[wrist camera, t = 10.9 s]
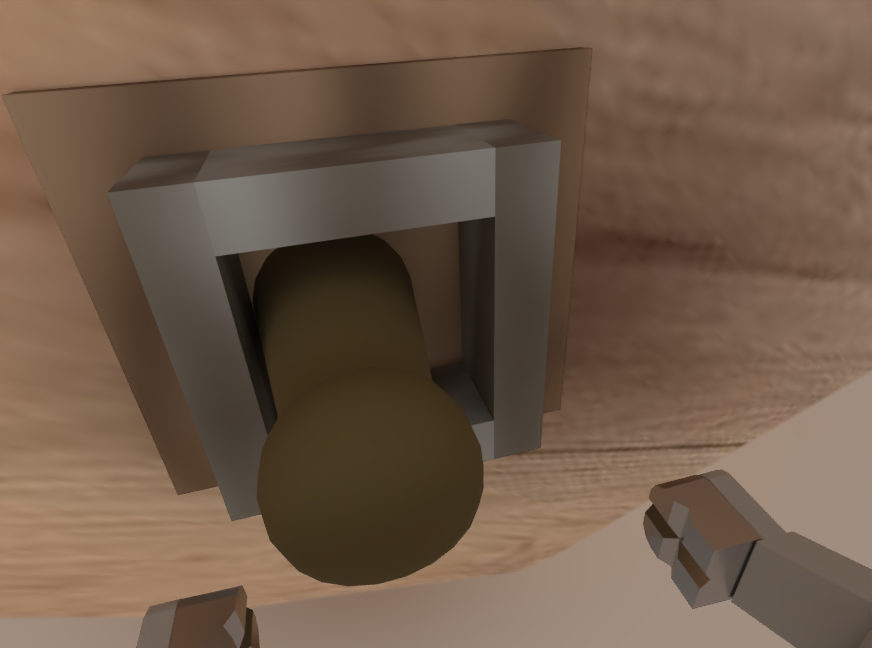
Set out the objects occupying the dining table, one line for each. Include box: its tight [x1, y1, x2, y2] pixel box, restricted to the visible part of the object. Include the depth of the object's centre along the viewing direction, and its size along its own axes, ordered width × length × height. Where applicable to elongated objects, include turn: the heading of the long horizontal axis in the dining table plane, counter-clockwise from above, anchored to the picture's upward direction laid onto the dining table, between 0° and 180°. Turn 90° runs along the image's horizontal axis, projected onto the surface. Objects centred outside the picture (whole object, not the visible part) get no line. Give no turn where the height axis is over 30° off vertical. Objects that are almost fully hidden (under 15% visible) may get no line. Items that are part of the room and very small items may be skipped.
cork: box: [252, 234, 483, 586], centre depth 15 cm, size 6×6×11 cm
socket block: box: [1, 47, 593, 521], centre depth 19 cm, size 18×16×5 cm
